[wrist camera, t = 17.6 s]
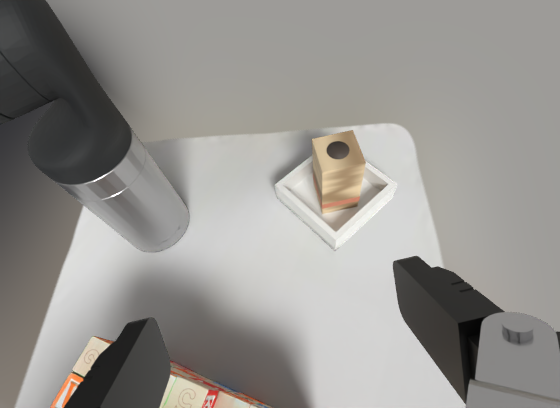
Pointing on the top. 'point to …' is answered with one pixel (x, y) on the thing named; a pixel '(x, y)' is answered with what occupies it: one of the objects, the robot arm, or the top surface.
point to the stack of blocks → (179, 392)
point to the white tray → (338, 224)
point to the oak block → (337, 171)
